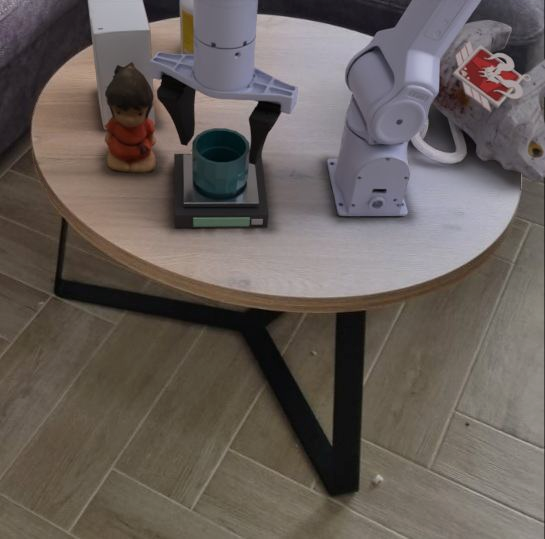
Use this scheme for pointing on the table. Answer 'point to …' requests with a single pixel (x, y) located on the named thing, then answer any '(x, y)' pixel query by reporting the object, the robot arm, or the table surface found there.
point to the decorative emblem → (487, 76)
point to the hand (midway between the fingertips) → (221, 149)
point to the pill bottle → (186, 27)
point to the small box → (119, 44)
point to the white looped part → (436, 154)
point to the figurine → (130, 122)
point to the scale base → (219, 215)
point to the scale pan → (202, 198)
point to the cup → (220, 160)
